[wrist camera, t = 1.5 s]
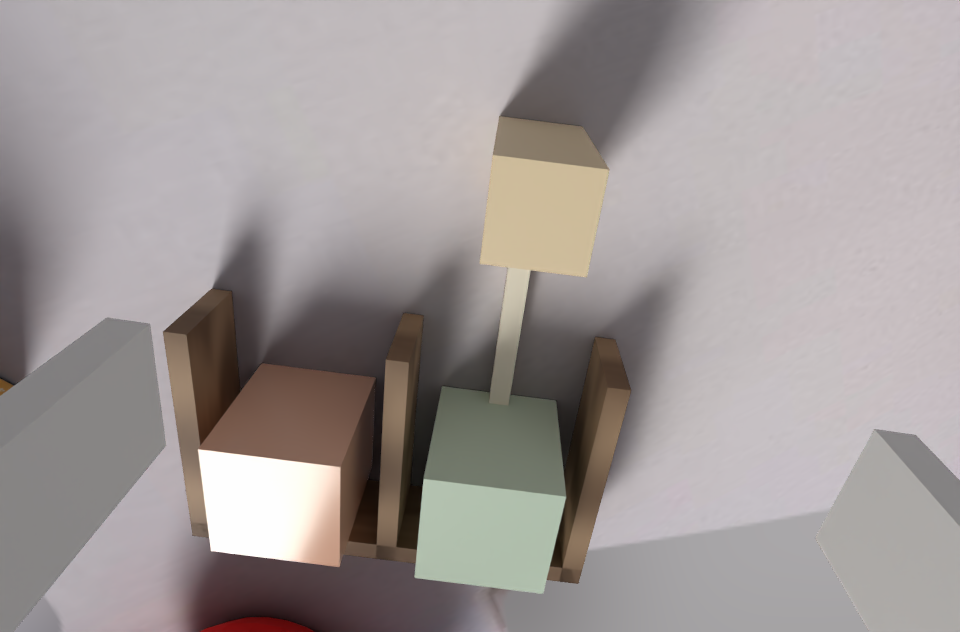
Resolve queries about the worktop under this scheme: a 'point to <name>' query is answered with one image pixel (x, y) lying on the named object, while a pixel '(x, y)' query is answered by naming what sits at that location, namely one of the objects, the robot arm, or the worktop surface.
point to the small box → (4, 386)
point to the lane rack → (390, 433)
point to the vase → (258, 626)
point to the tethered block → (511, 374)
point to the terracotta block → (289, 465)
